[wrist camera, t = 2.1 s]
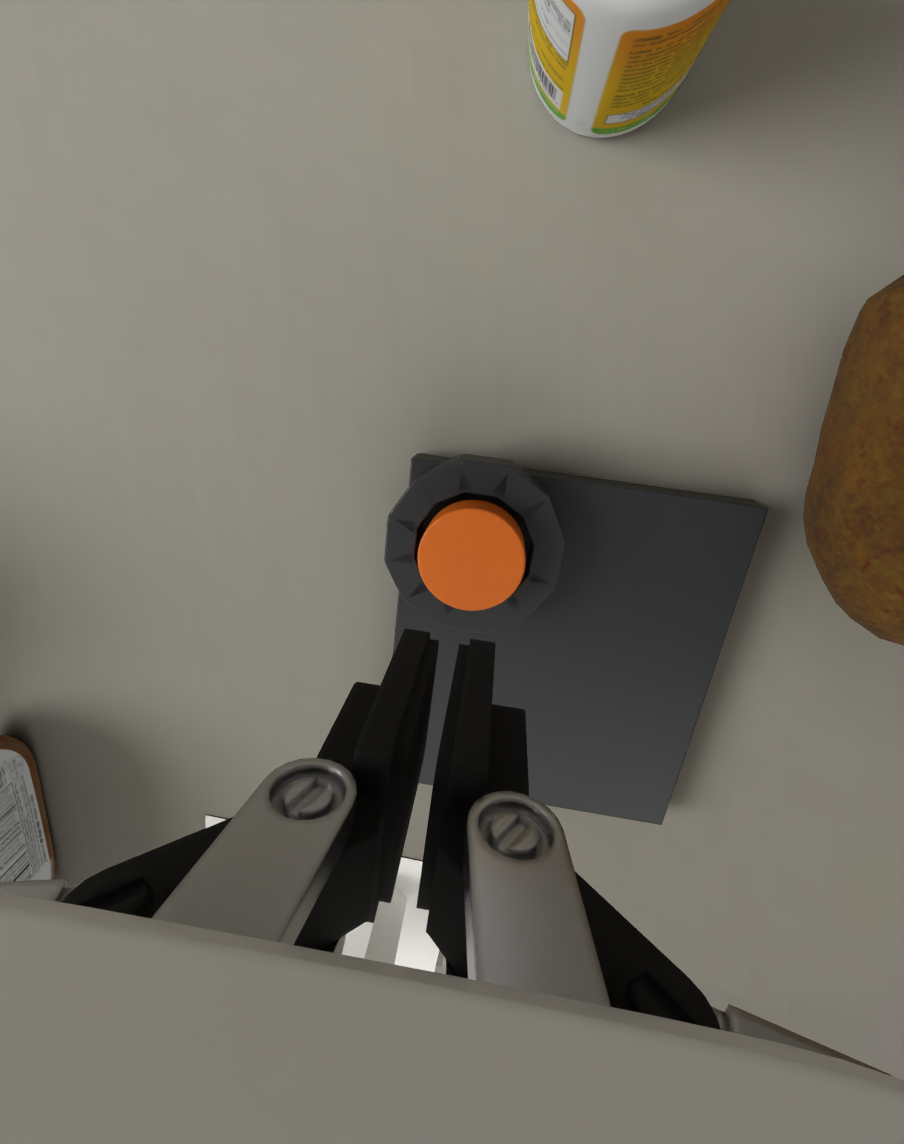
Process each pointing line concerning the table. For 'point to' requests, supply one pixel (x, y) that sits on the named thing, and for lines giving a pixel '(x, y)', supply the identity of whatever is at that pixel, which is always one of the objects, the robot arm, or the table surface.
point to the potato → (864, 473)
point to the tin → (22, 817)
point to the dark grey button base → (586, 621)
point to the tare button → (472, 555)
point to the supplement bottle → (614, 58)
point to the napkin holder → (393, 924)
